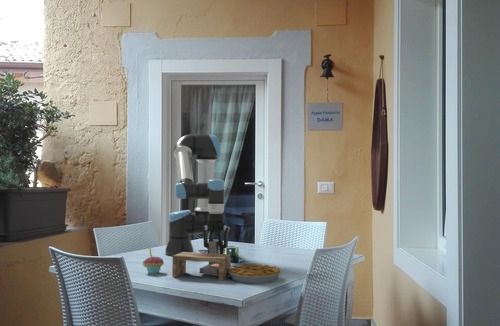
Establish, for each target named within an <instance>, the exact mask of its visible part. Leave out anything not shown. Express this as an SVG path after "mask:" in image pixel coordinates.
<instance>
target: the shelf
mask: <svg viewBox="0 0 500 326" xmlns="http://www.w3.org/2000/svg"><path fill="white" fill-rule="evenodd" d="M231 257H232V255H231V254H226V253H225V254H211V253H208V252H207V253H206V252H194V253H192V252H182V253H179V254H176V255H173V256H172V276H171V277H172V278H177V277H179V276H181V275H184V274H185V273H186V272H187V261H195V262H209V261H210V262H219V276H218V280H219V281H224V280H225V279H226V280H227V278H229V277H231V275H230V273H229V271H230V268H232V262H231V261H232V258H231Z"/></svg>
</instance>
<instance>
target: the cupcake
mask: <svg viewBox="0 0 500 326" xmlns="http://www.w3.org/2000/svg"><path fill="white" fill-rule="evenodd" d="M148 247H149V249H148V250H149V257H147V258H145V259H144V260H143V261H144V265H145V266H146V271H147V274H149V275H152V274H153V275H155V274H159V273H160V270H161V267H162V266H163V265H164V260H163V259H162V258H161V257H160V256H153V255H152V248H151V247H150V245H149V246H148ZM145 266H144V267H145Z"/></svg>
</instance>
